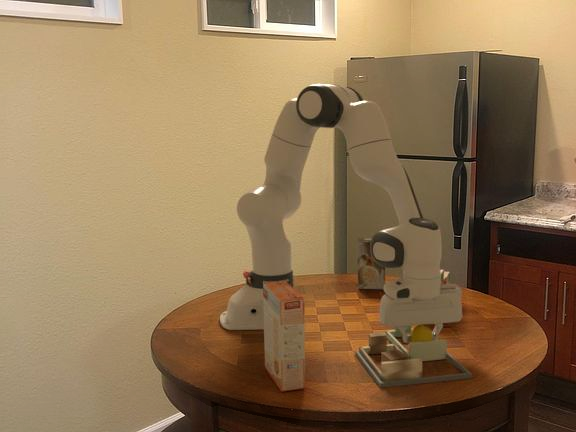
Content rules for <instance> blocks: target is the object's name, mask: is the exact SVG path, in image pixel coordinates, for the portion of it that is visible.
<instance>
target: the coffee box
mask: <svg viewBox="0 0 576 432" xmlns="http://www.w3.org/2000/svg"><path fill="white" fill-rule="evenodd" d="M371 239H372V237H366V238H364V237H362V238H361V237H358V238H357V243H356V245H357V251H356V252H357V289H359V290H384V284H386V268H384V267H381V266H379V265H378V264H377V263H376V262H375V261H374V260H373V258H372V256H371V253H370V242H371Z"/></svg>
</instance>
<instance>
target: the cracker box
mask: <svg viewBox="0 0 576 432" xmlns="http://www.w3.org/2000/svg"><path fill="white" fill-rule="evenodd" d="M263 301H264V329H263V337H264V338H263V339H264V368H265V370H266V371H267V373H268V374H269V376H270V378H271V379H272V381H273V382H274V383H275V385H276V386H277V387H278V389H279V390H280V392H282V393H283V392H289V391H297V390H303V389H306V358H305V356H306V354H305V353H306V347H305V346H306V345H305V344H306V343H305V341H306V340H305V339H306V338H305V334H306V333H305V332H306V331H305V297H304V296H303V295H302V294H300V292H299V291H298V290H296V289H295V288H294V287H293V288H292V287H291V286H290V285H289V284H288V283H287V282H286V281H280V282H272V283H264V284H263Z"/></svg>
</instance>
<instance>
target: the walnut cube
mask: <svg viewBox="0 0 576 432" xmlns="http://www.w3.org/2000/svg"><path fill="white" fill-rule="evenodd" d="M398 360H408V356H407V355H405V354H404V353H402V352H401V351H400V350H393V351H387V352H382V353H380V363H381V362H388V361H398Z"/></svg>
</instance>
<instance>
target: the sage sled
mask: <svg viewBox="0 0 576 432" xmlns="http://www.w3.org/2000/svg"><path fill="white" fill-rule="evenodd" d="M412 326H413V325H412ZM412 326H407V330H405V332H406V334H409V335H410V334H411V331H412V329H413V328H414V327H412ZM385 334H386V335H387V340H388V341H390V344H395V345H396V346H397V347H398V348H399V349H400V350H401V351H402V352H403V353H404V354H405V355H407V356H408V358H409V359H418V358H421V359H422V362H427V361H429V362H430V361H436V360H448V358H447V352H448V351H447V350H448V340H447V339H438V340H433V341H424V342H413V343H410V342H409V343H408V350H407V349H406V348H405V347H404V345H402V343H401V342H399V340H398V339H396V338H403V334H402V333H401V331H400V329H399V327H393V329H389V330H385Z"/></svg>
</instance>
